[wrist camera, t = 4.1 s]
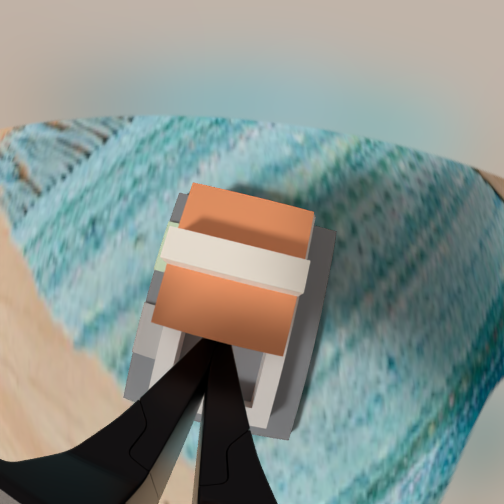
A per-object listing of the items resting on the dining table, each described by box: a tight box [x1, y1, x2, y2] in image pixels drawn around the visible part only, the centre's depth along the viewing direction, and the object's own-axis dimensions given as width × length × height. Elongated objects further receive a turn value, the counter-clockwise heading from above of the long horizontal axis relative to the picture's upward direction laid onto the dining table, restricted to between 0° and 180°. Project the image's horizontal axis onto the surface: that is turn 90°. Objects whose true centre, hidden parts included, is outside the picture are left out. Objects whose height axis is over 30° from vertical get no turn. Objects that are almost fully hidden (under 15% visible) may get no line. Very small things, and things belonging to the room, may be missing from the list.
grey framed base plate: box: [123, 193, 337, 440], centre depth 17 cm, size 13×10×2 cm
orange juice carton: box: [151, 183, 314, 357], centre depth 12 cm, size 4×4×10 cm
